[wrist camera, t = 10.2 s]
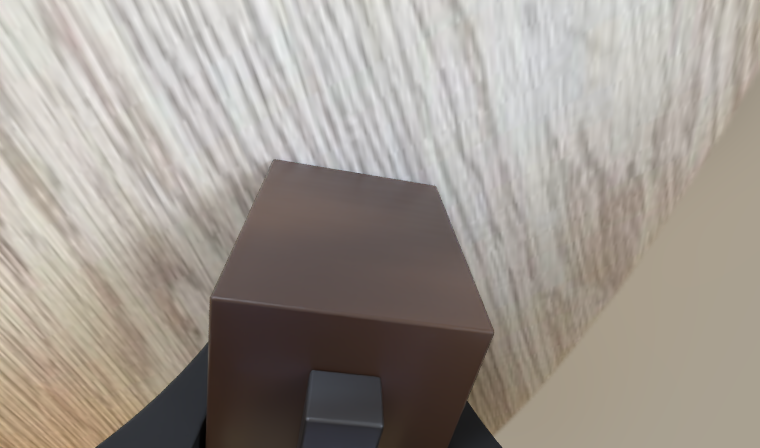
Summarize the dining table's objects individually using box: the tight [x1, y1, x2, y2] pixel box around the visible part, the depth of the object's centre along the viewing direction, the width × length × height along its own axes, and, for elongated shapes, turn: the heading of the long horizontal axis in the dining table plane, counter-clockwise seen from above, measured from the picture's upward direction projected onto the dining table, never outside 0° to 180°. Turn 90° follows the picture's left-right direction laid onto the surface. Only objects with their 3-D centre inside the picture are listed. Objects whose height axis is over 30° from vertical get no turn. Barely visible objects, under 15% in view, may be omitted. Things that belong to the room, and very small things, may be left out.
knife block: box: [206, 160, 494, 448], centre depth 11 cm, size 4×10×7 cm, turn 169°
